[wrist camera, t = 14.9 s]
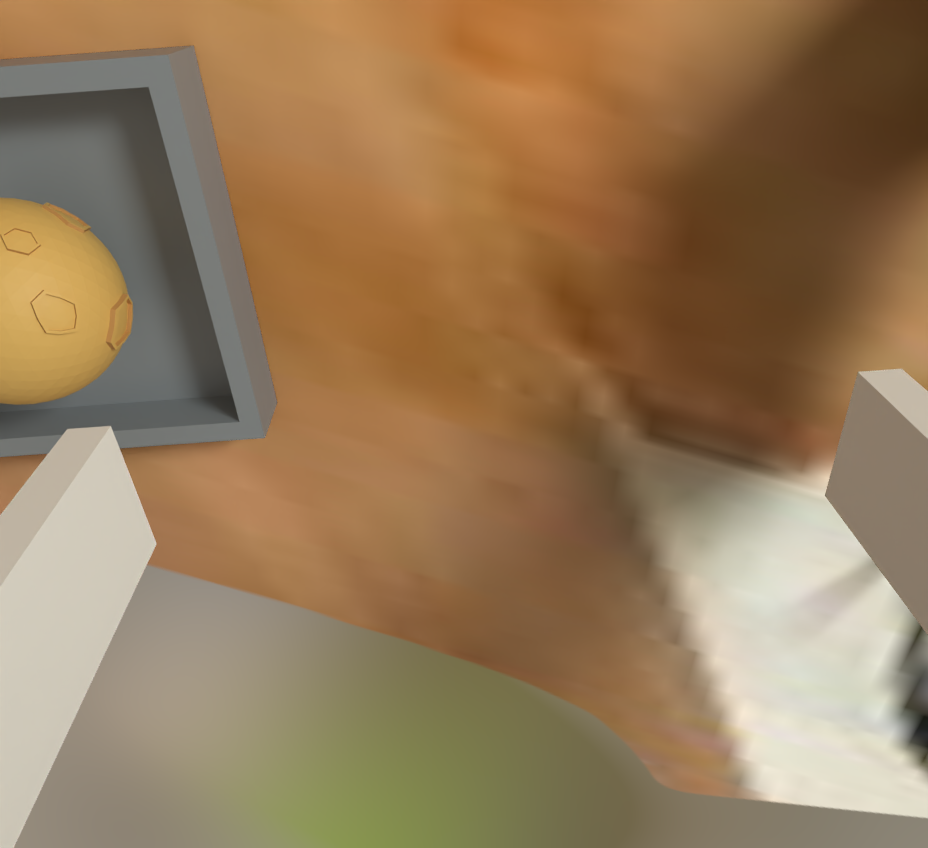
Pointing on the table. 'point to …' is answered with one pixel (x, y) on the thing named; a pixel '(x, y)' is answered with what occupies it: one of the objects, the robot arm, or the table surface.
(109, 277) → the stress ball
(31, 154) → the tray
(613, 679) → the table surface
